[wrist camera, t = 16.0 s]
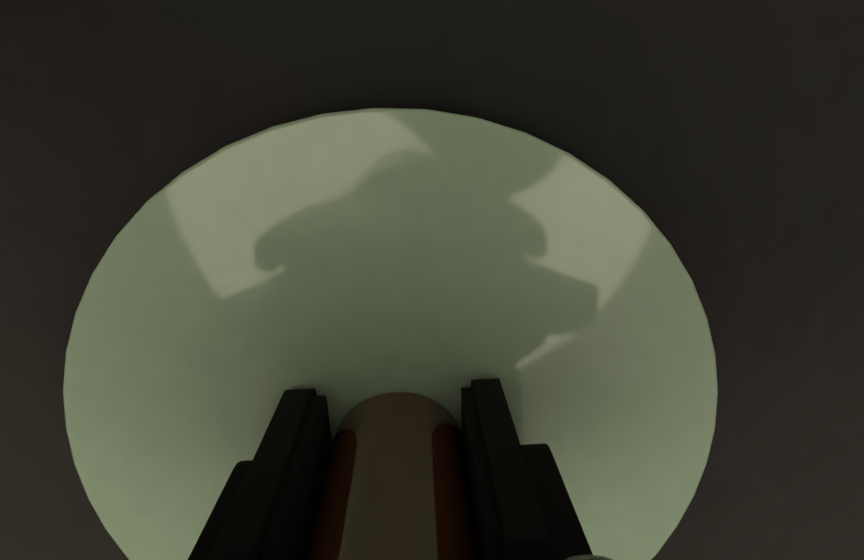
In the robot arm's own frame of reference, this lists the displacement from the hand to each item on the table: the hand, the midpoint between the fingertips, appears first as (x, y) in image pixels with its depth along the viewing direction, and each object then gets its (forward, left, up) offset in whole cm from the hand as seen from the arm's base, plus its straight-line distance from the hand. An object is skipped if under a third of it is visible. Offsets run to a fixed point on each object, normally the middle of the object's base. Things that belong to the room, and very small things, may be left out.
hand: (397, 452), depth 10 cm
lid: (0, 0, -1) cm, 1 cm away
